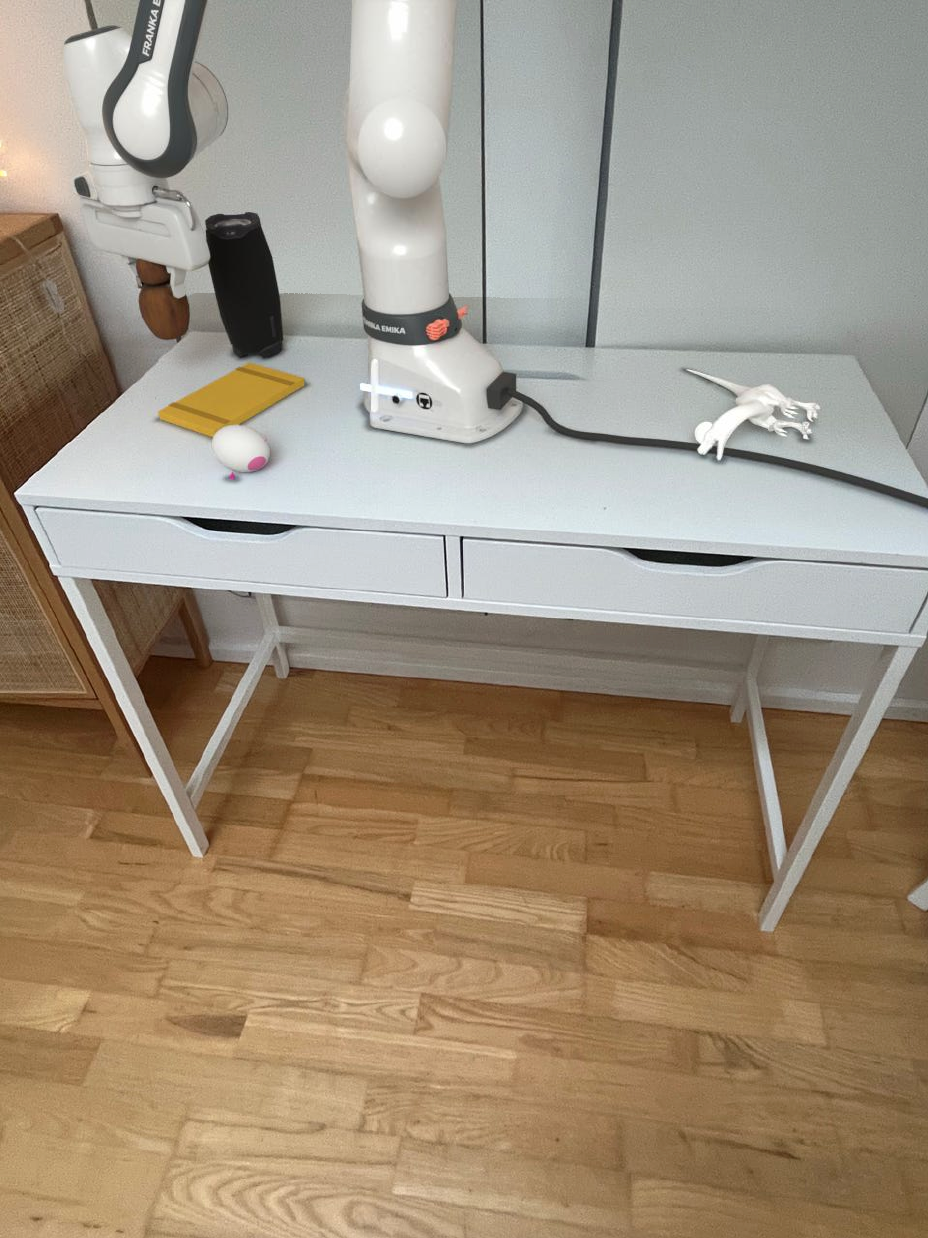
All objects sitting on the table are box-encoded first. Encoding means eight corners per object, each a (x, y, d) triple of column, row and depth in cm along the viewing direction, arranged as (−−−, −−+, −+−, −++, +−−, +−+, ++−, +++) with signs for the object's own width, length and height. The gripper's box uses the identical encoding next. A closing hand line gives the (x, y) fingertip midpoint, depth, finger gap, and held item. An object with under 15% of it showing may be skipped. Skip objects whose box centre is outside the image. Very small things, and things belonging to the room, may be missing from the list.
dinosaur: (781, 435, 122) (673, 411, 123) (802, 376, 118) (691, 352, 119) (815, 484, 100) (683, 454, 101) (843, 413, 96) (705, 383, 97)
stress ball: (282, 489, 107) (293, 438, 105) (243, 484, 99) (255, 429, 98) (235, 474, 109) (246, 424, 108) (194, 469, 102) (205, 415, 101)
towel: (305, 385, 122) (303, 376, 121) (215, 438, 111) (213, 429, 110) (250, 369, 126) (248, 361, 126) (159, 419, 115) (157, 410, 114)
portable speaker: (221, 348, 133) (190, 217, 120) (275, 333, 136) (251, 205, 123) (241, 366, 127) (211, 231, 114) (297, 350, 131) (274, 218, 118)
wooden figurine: (180, 345, 116) (150, 232, 106) (142, 343, 117) (109, 231, 107) (201, 326, 121) (174, 216, 111) (165, 324, 122) (135, 215, 112)
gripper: (207, 185, 103) (231, 297, 113) (100, 168, 112) (130, 273, 121) (168, 198, 99) (196, 313, 109) (61, 179, 108) (95, 286, 117)
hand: (161, 291), depth 115 cm, fingers closed on wooden figurine, 5 cm apart
